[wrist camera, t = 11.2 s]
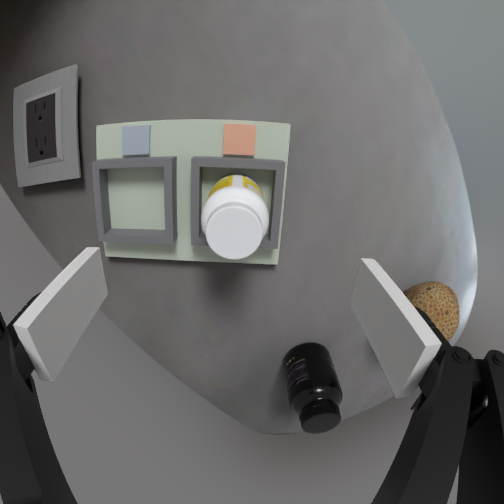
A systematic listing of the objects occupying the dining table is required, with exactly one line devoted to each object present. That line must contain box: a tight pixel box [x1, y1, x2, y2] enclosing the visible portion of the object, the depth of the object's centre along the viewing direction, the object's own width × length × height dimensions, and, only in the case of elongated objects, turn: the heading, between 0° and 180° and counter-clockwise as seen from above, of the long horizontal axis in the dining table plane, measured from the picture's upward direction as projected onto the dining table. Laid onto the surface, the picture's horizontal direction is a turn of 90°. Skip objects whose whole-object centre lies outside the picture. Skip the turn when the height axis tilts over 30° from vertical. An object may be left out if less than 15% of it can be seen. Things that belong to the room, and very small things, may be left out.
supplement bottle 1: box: [201, 174, 269, 260], centre depth 24 cm, size 5×5×10 cm
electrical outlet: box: [13, 64, 81, 188], centre depth 25 cm, size 13×10×2 cm
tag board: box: [92, 119, 291, 265], centre depth 28 cm, size 15×20×3 cm
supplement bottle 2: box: [284, 343, 342, 434], centre depth 34 cm, size 7×7×12 cm
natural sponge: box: [404, 281, 459, 341], centre depth 31 cm, size 9×9×10 cm
